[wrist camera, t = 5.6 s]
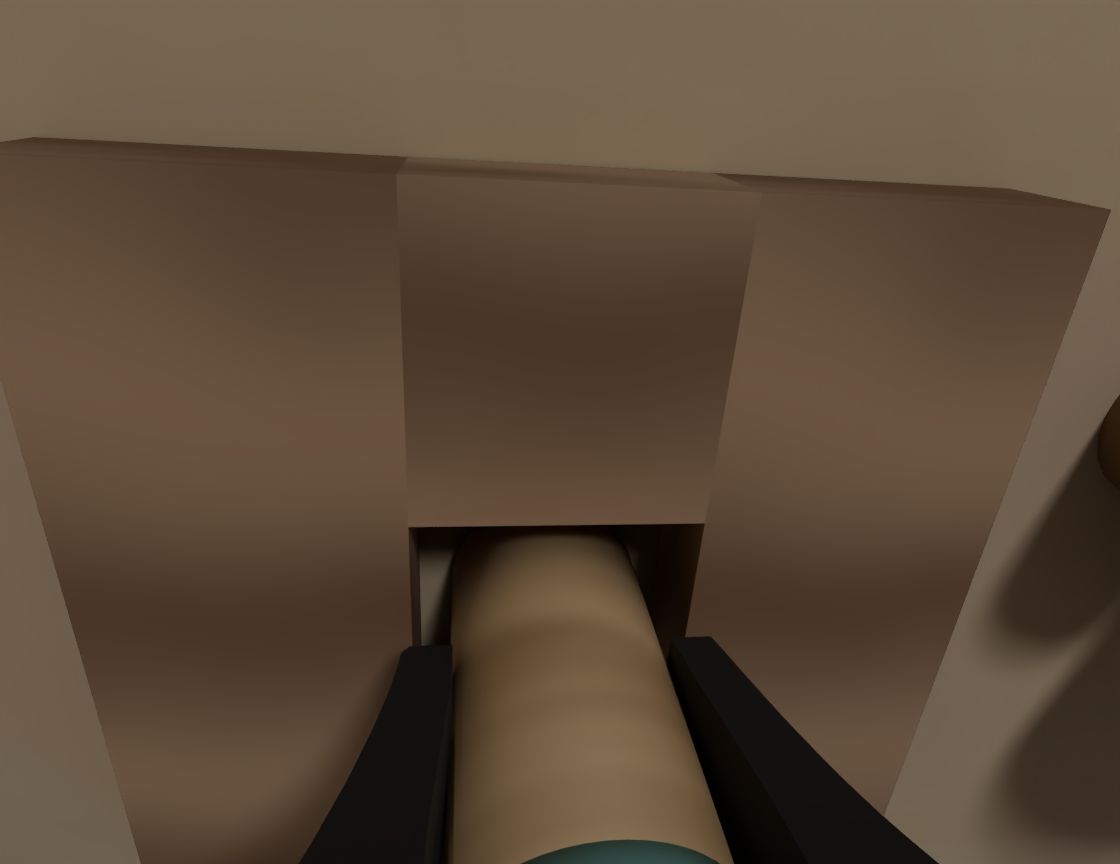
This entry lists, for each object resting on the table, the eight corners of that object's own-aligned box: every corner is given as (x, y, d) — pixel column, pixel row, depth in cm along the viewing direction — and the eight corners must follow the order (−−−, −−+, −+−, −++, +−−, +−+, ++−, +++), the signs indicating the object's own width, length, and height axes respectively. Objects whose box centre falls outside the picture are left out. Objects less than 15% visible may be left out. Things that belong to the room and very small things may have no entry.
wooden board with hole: (817, 801, 17) (858, 884, 16) (197, 842, 16) (163, 941, 14) (1009, 188, 11) (1110, 209, 10) (33, 137, 10) (-65, 151, 8)
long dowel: (623, 639, 14) (752, 1094, 8) (455, 649, 14) (447, 1135, 7) (635, 496, 13) (803, 909, 6) (448, 503, 12) (430, 949, 6)
